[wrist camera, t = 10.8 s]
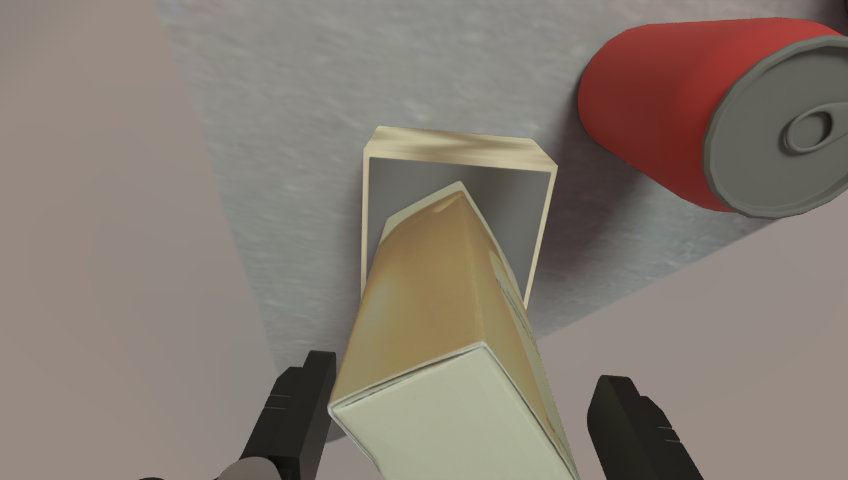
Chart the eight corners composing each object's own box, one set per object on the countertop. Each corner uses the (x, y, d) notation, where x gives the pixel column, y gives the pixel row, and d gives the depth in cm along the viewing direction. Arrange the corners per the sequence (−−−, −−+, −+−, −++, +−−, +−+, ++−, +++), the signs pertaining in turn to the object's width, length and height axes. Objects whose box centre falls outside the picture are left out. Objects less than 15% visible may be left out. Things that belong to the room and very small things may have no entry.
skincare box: (517, 276, 22) (600, 514, 11) (443, 310, 23) (453, 560, 12) (458, 171, 20) (488, 341, 9) (379, 214, 21) (318, 415, 10)
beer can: (703, 123, 25) (917, 193, 14) (588, 166, 26) (702, 261, 15) (686, 2, 22) (933, -31, 11) (560, 55, 23) (672, 73, 12)
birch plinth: (531, 138, 25) (559, 167, 20) (506, 272, 29) (523, 326, 24) (378, 125, 25) (363, 150, 19) (373, 261, 29) (359, 314, 23)
